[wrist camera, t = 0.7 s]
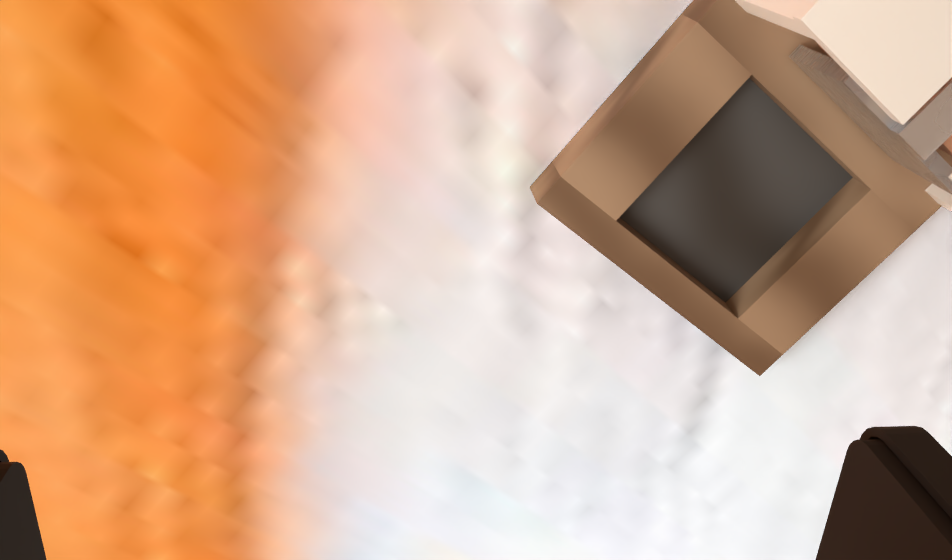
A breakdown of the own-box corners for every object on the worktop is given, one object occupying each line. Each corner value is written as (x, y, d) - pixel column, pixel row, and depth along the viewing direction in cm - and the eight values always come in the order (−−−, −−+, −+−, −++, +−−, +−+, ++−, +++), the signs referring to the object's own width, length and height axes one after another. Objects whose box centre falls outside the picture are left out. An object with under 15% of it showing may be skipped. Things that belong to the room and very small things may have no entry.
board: (1105, -470, 29) (1152, -492, 27) (1286, -163, 34) (1336, -164, 32) (529, 187, 37) (537, 203, 36) (743, 354, 42) (759, 375, 41)
